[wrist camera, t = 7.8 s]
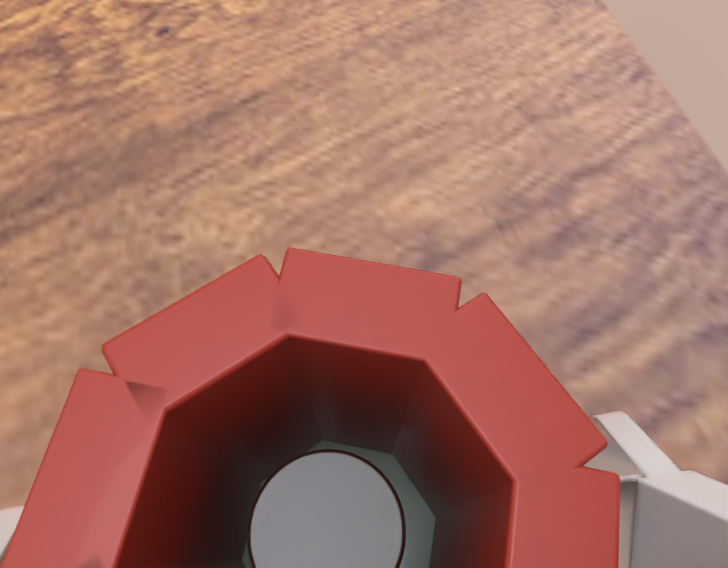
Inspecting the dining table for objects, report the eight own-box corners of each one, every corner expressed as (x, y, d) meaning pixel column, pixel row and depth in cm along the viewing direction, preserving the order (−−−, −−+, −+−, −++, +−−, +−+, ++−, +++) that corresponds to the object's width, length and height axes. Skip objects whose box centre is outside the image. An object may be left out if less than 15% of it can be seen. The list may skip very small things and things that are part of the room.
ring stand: (524, 412, 20) (689, 270, 10) (491, 783, 16) (712, 1168, 6) (230, 356, 21) (109, 171, 11) (130, 698, 17) (-212, 915, 7)
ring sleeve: (500, 422, 14) (626, 304, 8) (466, 746, 12) (612, 1009, 5) (238, 372, 15) (135, 218, 8) (153, 674, 12) (-104, 824, 6)
